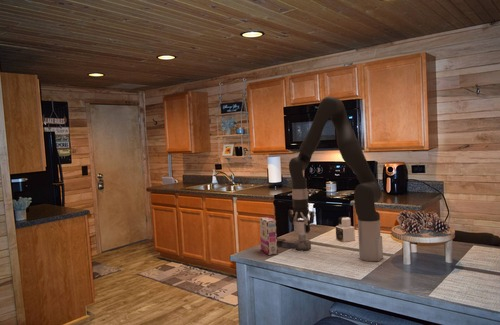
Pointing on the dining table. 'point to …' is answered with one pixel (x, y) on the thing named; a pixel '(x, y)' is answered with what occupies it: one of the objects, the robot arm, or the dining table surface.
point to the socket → (300, 227)
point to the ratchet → (295, 243)
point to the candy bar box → (268, 235)
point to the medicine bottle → (345, 230)
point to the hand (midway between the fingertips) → (302, 231)
